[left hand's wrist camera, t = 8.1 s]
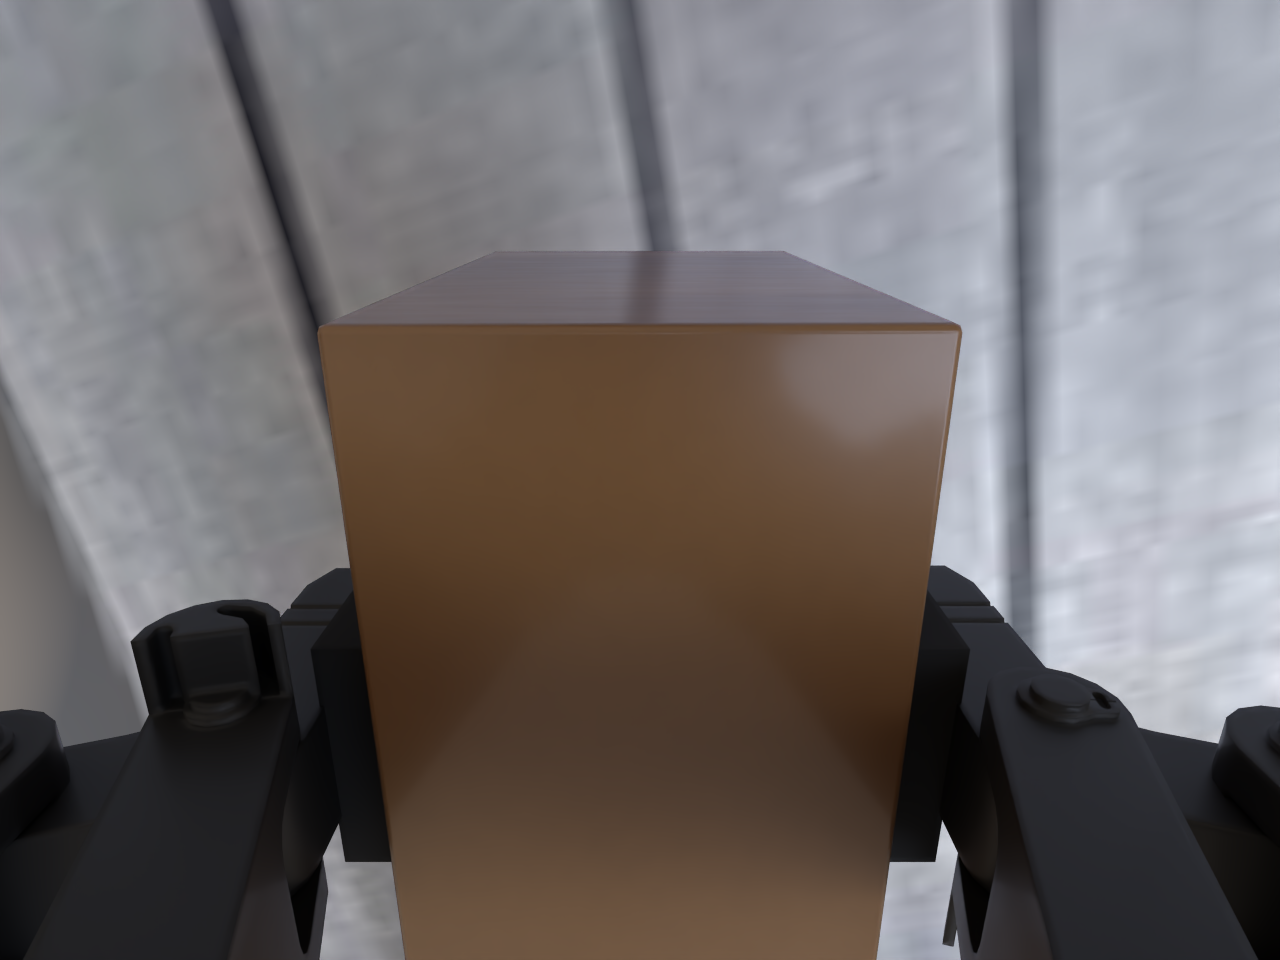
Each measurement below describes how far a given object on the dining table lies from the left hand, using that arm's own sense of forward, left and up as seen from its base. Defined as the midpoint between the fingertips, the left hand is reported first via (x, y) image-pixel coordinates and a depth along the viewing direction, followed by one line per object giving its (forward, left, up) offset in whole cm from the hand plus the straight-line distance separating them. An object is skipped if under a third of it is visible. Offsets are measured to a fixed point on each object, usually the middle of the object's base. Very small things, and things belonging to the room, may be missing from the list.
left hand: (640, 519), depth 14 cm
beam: (+24, +10, -1) cm, 26 cm away
